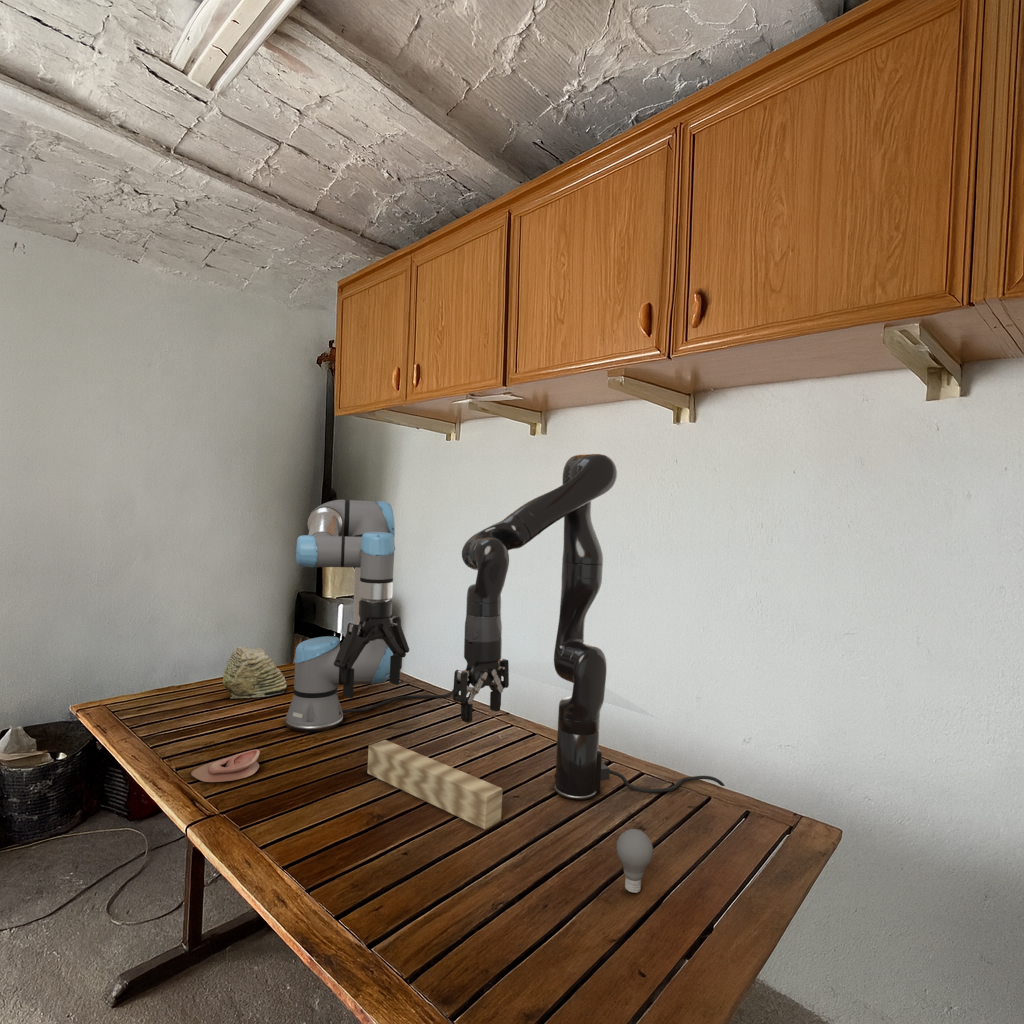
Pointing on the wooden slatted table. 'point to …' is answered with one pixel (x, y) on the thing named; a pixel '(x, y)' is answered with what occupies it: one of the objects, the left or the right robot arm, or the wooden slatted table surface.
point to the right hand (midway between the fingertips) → (481, 715)
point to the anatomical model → (229, 768)
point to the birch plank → (436, 783)
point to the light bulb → (634, 857)
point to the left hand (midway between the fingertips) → (372, 689)
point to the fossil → (252, 674)
